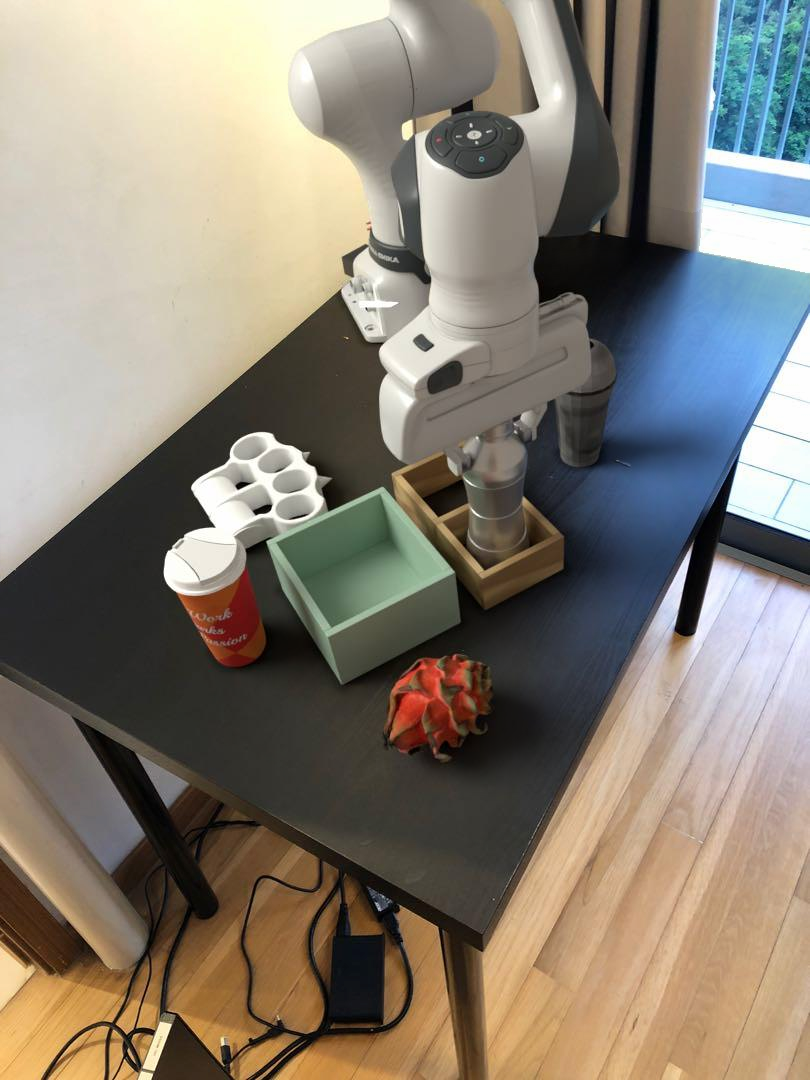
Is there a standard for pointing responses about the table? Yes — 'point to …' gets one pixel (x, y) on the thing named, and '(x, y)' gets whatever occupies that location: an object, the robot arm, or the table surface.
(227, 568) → the paper cup
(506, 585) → the rack
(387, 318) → the robot arm
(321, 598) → the open storage box
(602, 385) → the beverage cup
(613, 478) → the table surface
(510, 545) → the silver metal bottle
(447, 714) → the dragon fruit
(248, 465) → the knuckle duster
